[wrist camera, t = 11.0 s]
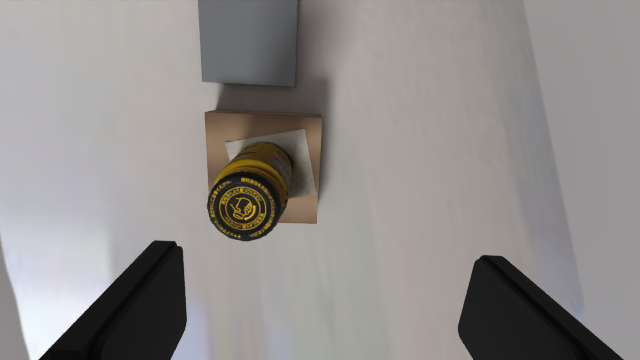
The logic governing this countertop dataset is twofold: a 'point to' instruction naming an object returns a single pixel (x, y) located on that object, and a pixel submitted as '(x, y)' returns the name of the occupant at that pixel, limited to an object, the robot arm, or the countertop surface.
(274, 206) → the condiment
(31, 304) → the countertop surface
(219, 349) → the countertop surface
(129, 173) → the countertop surface
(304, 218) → the block
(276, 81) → the coaster
